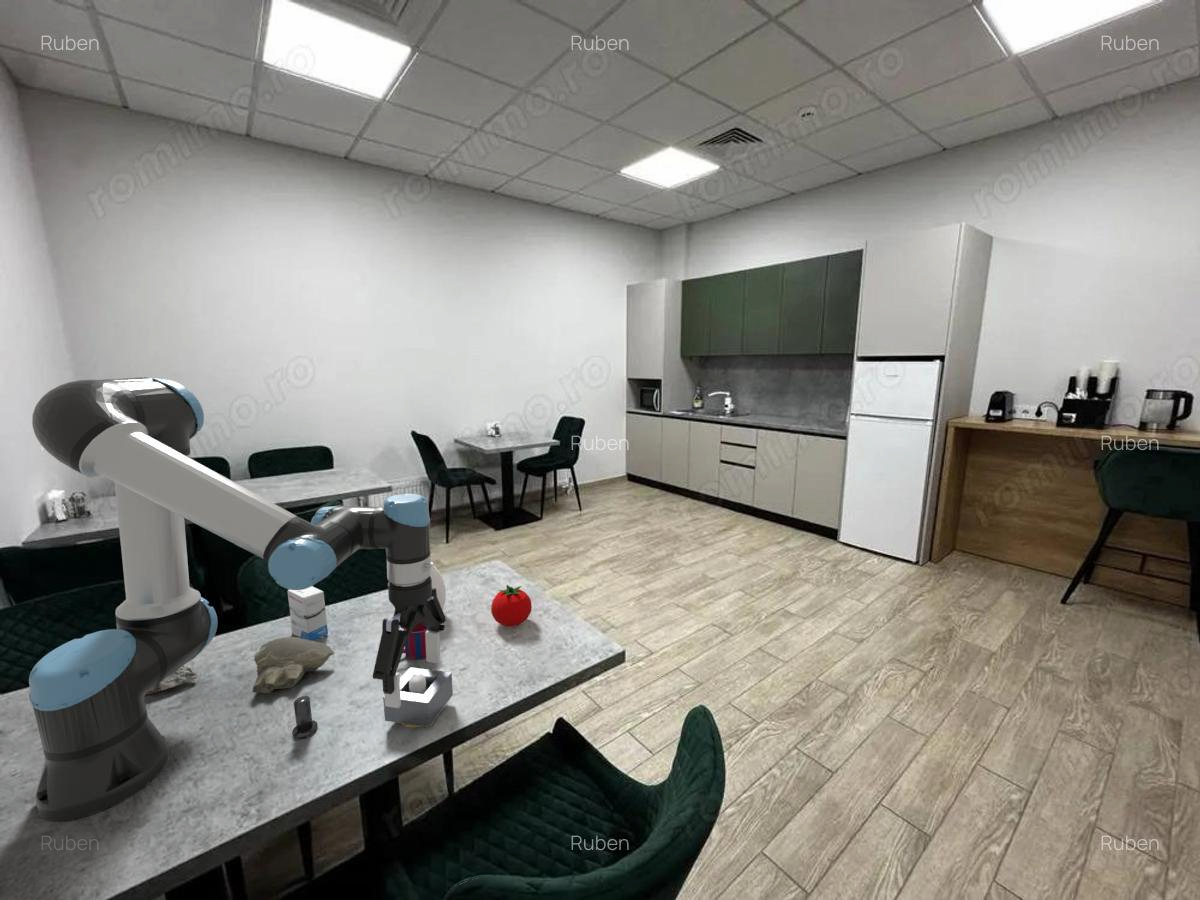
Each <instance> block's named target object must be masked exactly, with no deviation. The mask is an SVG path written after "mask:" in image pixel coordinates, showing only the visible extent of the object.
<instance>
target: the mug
mask: <svg viewBox="0 0 1200 900" xmlns="http://www.w3.org/2000/svg"><path fill="white" fill-rule="evenodd" d="M406 630H407V629H403V631H406ZM427 630H428V631H430V629H428V628H427V627H426V626H425V625H424V624H423V623H422V622H420V623H419V624H417V625H416V626H415V628H413V631H412V634H411V636H409V637H408V638H407V641H406V644H405V647H404V650H403V653H402V654H405V656H406V658H408V659H410V660H414V661H415V660H417V661H418V660H423V659H426V639H425V632H426V631H427Z"/></svg>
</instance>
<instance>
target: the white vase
mask: <svg viewBox="0 0 1200 900" xmlns="http://www.w3.org/2000/svg"><path fill="white" fill-rule="evenodd" d="M431 564H432V567H431V575H430V576H431V578H432V588H436V593H437V598H438V601H439V603H440V606H441V608H442V610H443V609H444V608H445V605H446V599H447V591H446V585H445V581H444V578H443V576H442V575H441V572H440V571H439V569H438V568H437V567H436V565H434V562H433V561H431Z"/></svg>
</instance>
